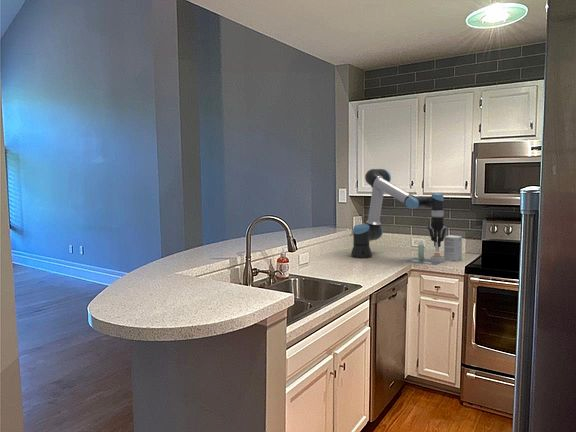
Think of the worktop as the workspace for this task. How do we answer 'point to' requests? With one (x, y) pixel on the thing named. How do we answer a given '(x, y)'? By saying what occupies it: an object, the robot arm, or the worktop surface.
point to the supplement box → (453, 248)
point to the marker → (421, 252)
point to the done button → (436, 254)
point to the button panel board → (428, 260)
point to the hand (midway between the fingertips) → (437, 251)
